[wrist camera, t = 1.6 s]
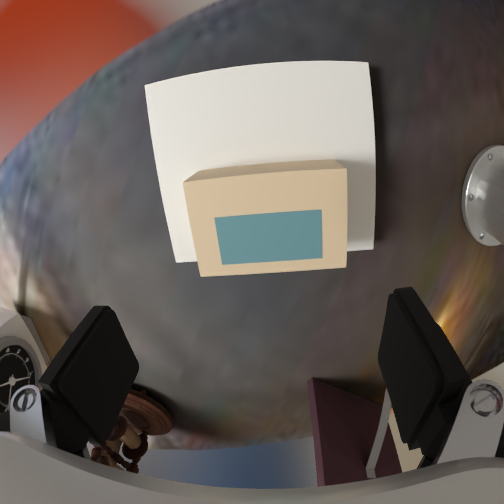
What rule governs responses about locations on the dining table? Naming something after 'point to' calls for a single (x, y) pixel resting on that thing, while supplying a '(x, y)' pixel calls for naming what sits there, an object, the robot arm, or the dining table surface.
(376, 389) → the dining table surface
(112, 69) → the dining table surface
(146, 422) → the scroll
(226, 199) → the carton
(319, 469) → the picture frame
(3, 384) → the alarm clock
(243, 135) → the display podium
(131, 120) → the dining table surface
